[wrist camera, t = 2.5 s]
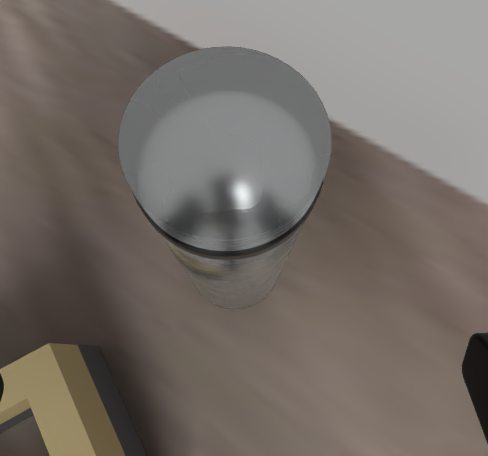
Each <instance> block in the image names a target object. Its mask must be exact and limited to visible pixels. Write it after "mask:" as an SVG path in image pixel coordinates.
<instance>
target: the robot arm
mask: <svg viewBox="0 0 488 456" xmlns="http://www.w3.org/2000/svg"><path fill="white" fill-rule="evenodd" d="M462 374H463V378H464V381H465V383H466V386H467V389H468V392H469V394H470V397H471V400H472V403H473V405H474V408H475V411H476V413H477V416H478V419H479V422H480V424H481V427H482V430H483V433H484V435H485V438H486V441H487V443H488V333H475V334H473V335H472V336H471V338H470V340H469V343H468V347H467V350H466V353H465V356H464V360H463V363H462ZM3 391H4V382H3V378H2V376H1V373H0V402H1V399H2V396H3Z"/></svg>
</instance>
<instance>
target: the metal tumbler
mask: <svg viewBox="0 0 488 456" xmlns="http://www.w3.org/2000/svg"><path fill="white" fill-rule="evenodd" d="M331 142H332V137H331V129H330V123H329V120H328V116H327V113H326V110H325V108H324V106H323V103H322V102H321V100H320V98H319V96H318V95H317V93H316V91H315V90H314V89H313V87H312V86H311V85H310V84H309V82H308V81H307V80H306V79H305V78H304V77H303V76H302V75H301V74H300V73H298V72H297V71H296V70H294V69H293V68H292V67H291V66H289V65H288V64H286V63H284V62H283V61H281V60H279V59H277V58H275V57H273V56H270V55H268V54H265V53H262V52H259V51H256V50H251V49H246V48H241V47H213V48H206V49H200V50H197V51H193V52H189V53H187V54H184V55H182V56H179V57H177V58H175V59H173V60H171V61H169V62H167V63H166V64H164V65H163V66H161V67H160V68H158V69H157V70H155V71H154V72H153V73H152V74H151V75H150V76H149V77H148V78H146V79H145V81H144V82H143V83H142V84H141V85H140V86H139V87H138V89H137V90H136V92H135V93H134V95H133V96H132V98H131V99H130V101H129V103H128V105H127V107H126V109H125V112H124V115H123V118H122V121H121V125H120V131H119V142H118V149H119V158H120V163H121V167H122V170H123V174H124V176H125V178H126V181H127V183H128V185H129V187H130V188H131V190H132V192H133V194H134V197H135V199H136V201H137V203H138V205H139V206H140V208H141V210H142V211H143V213H144V214H145V216H146V217H147V219H148V220H149V222H150V223H151V224H152V225H153V227H154V228H155V229H156V230H157V231H158V232H159V233H160V234H161V235H162V237H163V238H164V240H165V241H166V243H167V244H168V246H169V247H170V249H171V250H172V252H173V253H174V255H175V256H176V258H177V259H178V261H179V262H180V264H181V265H182V267H183V268H184V270H185V271H186V273H187V274H188V276H189V277H190V279H191V280H192V282H193V283H194V285H195V286H196V288H197V289H198V291H199V292H200V293H201V295H202V296H203V297H205V298H206V299H207V300H208V301H210V302H211V303H213V304H215V305H217V306H219V307H222V308H227V309H243V308H247V307H250V306H253V305H255V304H257V303H258V302H260V301H262V300H263V299H264V298H265V297H266V296H267V295H268V294H269V293H270V292H271V290H272V289H273V287H274V285H275V283H276V281H277V279H278V277H279V275H280V272H281V270H282V268H283V266H284V264H285V262H286V259H287V257H288V255H289V253H290V251H291V249H292V246H293V244H294V242H295V240H296V238H297V236H298V233H299V231H300V229H301V227H302V225H303V223H304V222H305V220H306V219H307V217H308V216H309V214H310V212H311V210H312V208H313V206H314V204H315V202H316V200H317V198H318V196H319V193H320V190H321V187H322V184H323V180H324V177H325V174H326V171H327V168H328V165H329V161H330V155H331Z"/></svg>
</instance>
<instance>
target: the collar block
mask: <svg viewBox="0 0 488 456" xmlns="http://www.w3.org/2000/svg"><path fill="white" fill-rule="evenodd" d="M0 373H1V376H2V378H3V382H4V391H3V396H2V399H1V402H0V433H1V432H3V431H5V430H7V429H9V428H10V427H12V426H14V425H16V424H18V423H19V422H21V421H23V420H25V419H27V418H28V417H30V416H32V415H34V417H35V419H36V422H37V425H38V427H39V430H40V432H41V435H42V437H43V440H44V442H45V445H46V447H47V450H48V453H49V455H50V456H147V454H146V452H145V450H144V447H143V445H142V443H141V441H140V438H139V436H138V434H137V432H136V429H135V427H134V425H133V423H132V421H131V418H130V416H129V414H128V412H127V409H126V407H125V405H124V403H123V400H122V398H121V396H120V394H119V391H118V389H117V387H116V385H115V382H114V380H113V378H112V376H111V374H110V371H109V369H108V367H107V365H106V362H105V360H104V358H103V356H102V353H101V351H100V349H99V347H98V346H87V345H72V344H57V343H48V344H46V345H44V346H42V347H40V348H39V349H37V350H35V351H33V352H31V353H29V354H27V355H25V356H24V357H22V358H20V359H18V360H16V361H14V362H12V363H11V364H9V365H7V366H5V367H3V368H1V369H0Z"/></svg>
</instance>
